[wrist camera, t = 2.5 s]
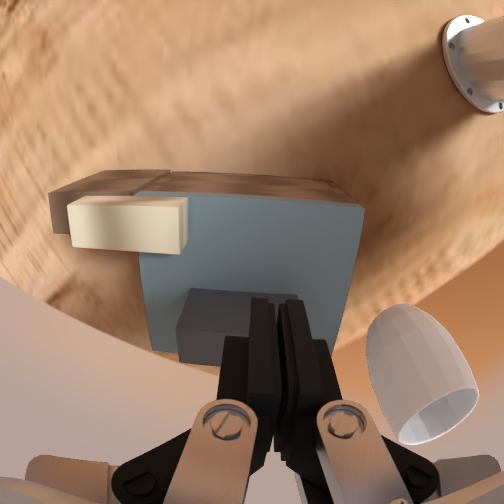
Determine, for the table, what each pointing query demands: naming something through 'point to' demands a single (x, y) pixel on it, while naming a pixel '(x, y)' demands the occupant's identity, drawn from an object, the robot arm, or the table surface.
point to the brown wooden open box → (187, 188)
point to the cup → (418, 374)
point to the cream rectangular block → (130, 223)
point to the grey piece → (248, 269)
